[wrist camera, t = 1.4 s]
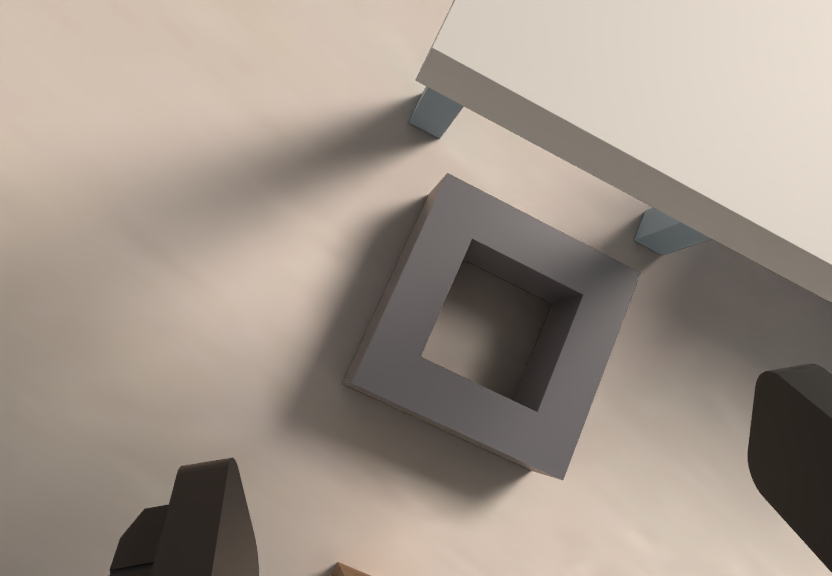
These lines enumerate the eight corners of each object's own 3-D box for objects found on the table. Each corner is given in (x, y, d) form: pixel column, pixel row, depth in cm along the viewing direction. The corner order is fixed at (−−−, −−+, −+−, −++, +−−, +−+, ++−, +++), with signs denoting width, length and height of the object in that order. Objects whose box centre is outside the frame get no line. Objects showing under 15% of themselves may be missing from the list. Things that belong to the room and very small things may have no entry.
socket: (532, 471, 38) (563, 480, 35) (341, 383, 37) (351, 383, 33) (604, 283, 41) (640, 272, 37) (428, 194, 39) (447, 173, 36)
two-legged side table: (613, 434, 40) (1307, 523, 14) (307, 288, 37) (432, 47, 11) (686, 233, 43) (1377, -15, 16) (406, 84, 40) (695, -497, 14)
